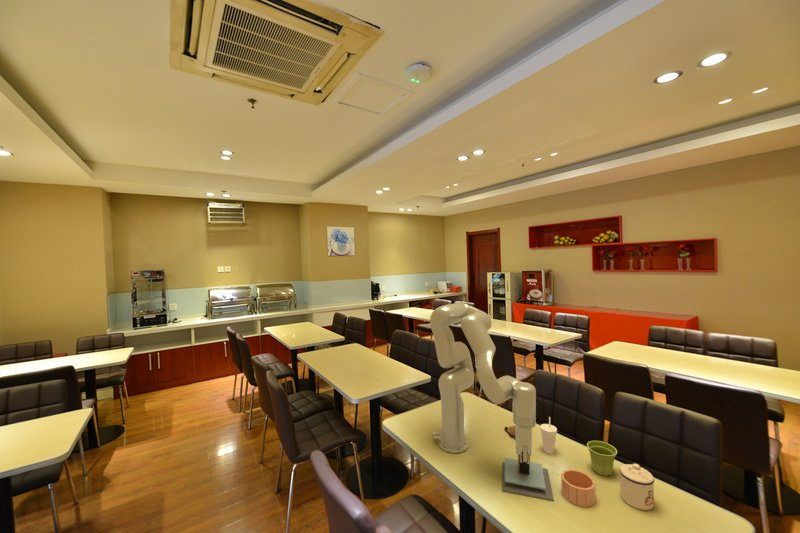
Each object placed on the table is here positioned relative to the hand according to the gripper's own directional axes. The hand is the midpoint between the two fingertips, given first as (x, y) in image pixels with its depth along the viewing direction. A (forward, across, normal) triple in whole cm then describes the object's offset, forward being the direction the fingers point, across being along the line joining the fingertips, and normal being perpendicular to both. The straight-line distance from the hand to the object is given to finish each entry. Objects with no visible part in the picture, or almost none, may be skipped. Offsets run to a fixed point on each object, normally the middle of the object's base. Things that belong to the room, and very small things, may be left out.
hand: (523, 468), depth 115 cm
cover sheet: (+2, 0, 0) cm, 2 cm away
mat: (+4, 0, +1) cm, 4 cm away
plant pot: (+4, -13, +28) cm, 31 cm away
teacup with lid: (+3, -1, +35) cm, 35 cm away
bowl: (+4, +3, +17) cm, 17 cm away
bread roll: (+5, -31, -1) cm, 31 cm away
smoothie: (+4, -21, +11) cm, 24 cm away
